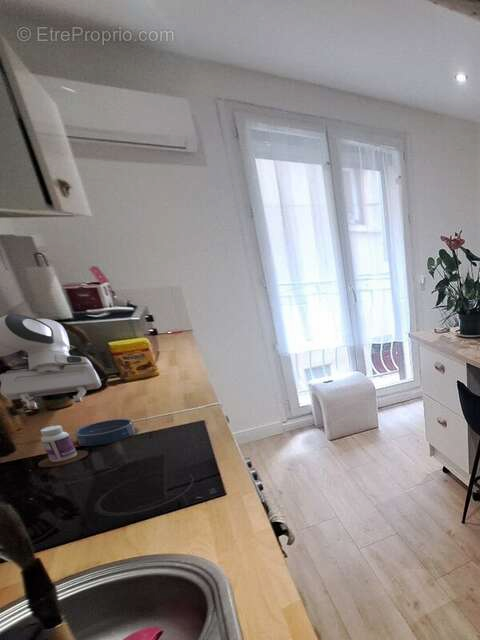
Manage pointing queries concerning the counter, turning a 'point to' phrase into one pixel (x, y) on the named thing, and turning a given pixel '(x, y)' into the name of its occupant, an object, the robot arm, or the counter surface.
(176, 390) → the counter surface
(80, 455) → the coaster
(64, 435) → the pill bottle
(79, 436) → the bowl
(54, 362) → the robot arm
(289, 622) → the counter surface
